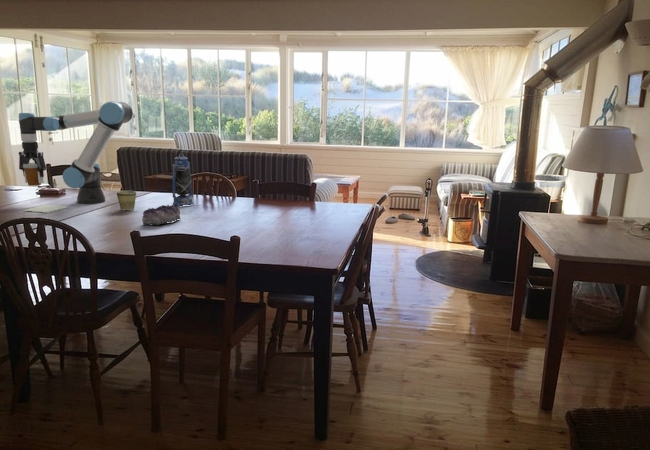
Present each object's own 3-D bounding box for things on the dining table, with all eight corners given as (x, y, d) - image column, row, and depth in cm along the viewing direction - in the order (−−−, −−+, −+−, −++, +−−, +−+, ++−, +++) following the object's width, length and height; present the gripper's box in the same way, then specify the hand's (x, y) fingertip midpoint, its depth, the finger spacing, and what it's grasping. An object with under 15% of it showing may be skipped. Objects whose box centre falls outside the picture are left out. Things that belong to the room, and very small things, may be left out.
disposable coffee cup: (38, 186, 273) (35, 164, 270) (21, 186, 273) (18, 164, 270) (48, 183, 282) (45, 162, 279) (31, 183, 282) (28, 162, 279)
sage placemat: (68, 207, 273) (67, 206, 273) (48, 213, 259) (47, 212, 259) (44, 206, 276) (44, 205, 276) (23, 211, 262) (23, 210, 262)
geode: (168, 218, 258) (170, 199, 255) (185, 223, 253) (187, 205, 250) (137, 223, 240) (138, 203, 238) (154, 230, 235) (155, 209, 233)
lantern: (181, 208, 282) (179, 155, 275) (165, 205, 287) (163, 153, 280) (200, 204, 295) (198, 153, 288) (184, 201, 301) (182, 152, 294)
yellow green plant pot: (130, 212, 267) (129, 194, 265) (113, 211, 269) (112, 192, 267) (143, 207, 280) (142, 190, 277) (127, 206, 281) (126, 189, 279)
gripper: (51, 141, 273) (55, 182, 279) (18, 140, 278) (23, 180, 283) (40, 142, 266) (45, 184, 272) (7, 141, 270) (13, 182, 276)
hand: (34, 182), depth 277 cm, fingers closed on disposable coffee cup, 8 cm apart
